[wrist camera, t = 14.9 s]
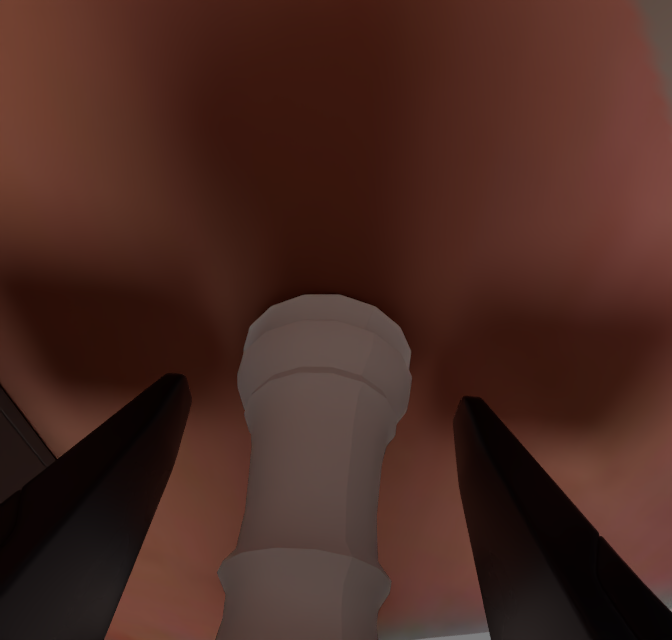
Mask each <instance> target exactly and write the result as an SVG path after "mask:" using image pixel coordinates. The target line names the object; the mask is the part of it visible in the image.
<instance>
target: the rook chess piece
mask: <svg viewBox="0 0 672 640" xmlns="http://www.w3.org/2000/svg"><path fill="white" fill-rule="evenodd" d="M243 351H244V354H243V357H242V360H241V364H240V367H239V370H238V374H237V385H238V391H239V394H240V397H241V401H242V404H243V407H244V409H245V412H244V416H245V419H246V423H247V426H248V429H249V432H250V433H251V442H252V449H251V459H250V468H249V478H248V488H247V497H246V507H245V513H244V517H243V521H242V525H241V529H240V534H239V538H238V542H237V546H236V549H235V550H234V551H233V552H232V553H231V554H230V555H229V556H228V557H227V558H226V559H224V560H223V562H222V564H221V566H220V568H219V570H218V572H217V574H218V576H219V579H220V581H221V584H222V587H223V589H224V592H225V594H226V595H225V603H224V611H223V619H222V622H221V625H220V627H219V630H218V633H217V636H216V639H215V640H378V634H377V616H378V610H379V609H380V607H381V606H382V604H383V603H384V601H385V599H386V598H387V596H388V595H389V593H390V588H391V582H392V581H391V580H390V578H389V577H388V575H387V574H386V572H385V571H384V570H383V568H382V567H381V565H380V564H379V562H378V550H377V507H378V497H379V487H380V477H381V467H382V462H383V458H384V454H385V450H386V446H387V445H388V444H389V443H390V441H391V440H392V439H393V438H394V437H395V434H396V424H397V423H398V422H399V421H400V419H401V418H402V417H403V416H404V414H405V413H406V411H407V407H408V402H409V397H410V389H411V381H412V376H411V374H410V372H409V366H410V358H411V350H410V347H409V345H408V343H407V341H406V338H405V336H404V334H403V332H402V330H401V327H400V326H399V325H397V324H396V323H395V322H394V321H392V320H391V319H390V318H389V317H388V316H386V315H385V314H384V313H383V312H382V311H380V310H379V309H378V308H377V307H375V306H373V305H370V304H367V303H364V302H361V301H358V300H355V299H352V298H349V297H346V296H343V295H340V294H307V295H301V296H298V297H296V298H293V299H290V300H287V301H284V302H282V303H279V304H276V305H273V306H271V307H270V308H269V309H268V310H267V311H265V312H264V313H263V314H262V315H261V316H260V317H259V318H258V319H257V320H256V321H255V322H254V323H253V324H252V325H251V326H250V328H249V332H248V335H247V338H246V342H245V345H244V348H243Z"/></svg>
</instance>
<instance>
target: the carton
mask: <svg viewBox="0 0 672 640" xmlns="http://www.w3.org/2000/svg"><path fill="white" fill-rule="evenodd" d="M54 461H56V460H55V458H54V457H53V456H52V454H51V453H50V452H49V450H48V449H47V448H46V446H45V445H44V444H43V442H42V441H41V440H40V439H39V437H38V436H37V435H36V433H35V432H34V431H33V429H32V428H31V427H30V425H29V424H28V423H27V421H26V420H25V419H24V417H23V416H22V415H21V413H20V412H19V411H18V409H17V408H16V407H15V406H14V404H13V403H12V402H11V400H10V399H9V398H8V396H7V395H6V394H5V392H4V391H3V390H2V388H1V387H0V504H1V503H2V502H3V501H5V500H6V499H7V498H9V497H10V496H11V495H12V494H14V493H15V492H16V491H18V490H22V487H23V486H24V485H25V484H27V483H28V482H29V481H30V480H32V479H33V478H34V477H35V476H37V475H38V474H39V473H40V472H42V471H43V470H44V469H46V468H47V467H48V466H49V465H51V464H52V463H53V462H54Z"/></svg>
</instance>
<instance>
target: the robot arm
mask: <svg viewBox="0 0 672 640" xmlns="http://www.w3.org/2000/svg"><path fill="white" fill-rule="evenodd" d="M191 402H192V396H191V392H190V389H189V385H188V382H187V378H186V376H185V375H184V374H177V373H167V374H165V375H164V376H162V377H161V378H160V379H158V380H157V381H156V382H155V383H153V384H152V385H151V386H150V387H148V388H147V389H146V390H144V391H143V392H142V393H141V394H139V395H138V396H137V397H136V398H134V399H133V400H132V401H131V402H129V403H128V404H127V405H125V406H124V407H123V408H122V409H120V410H119V411H118V412H117V413H115V414H114V415H113V416H112V417H110V418H109V419H108V420H106V421H105V422H104V423H103V424H101V425H100V426H99V427H98V428H96V429H95V430H94V431H92V432H91V433H90V434H89V435H87V436H86V437H85V438H84V439H82V440H81V441H80V442H79V443H77V444H76V445H75V446H73V447H72V448H71V449H70V450H68V451H67V452H66V453H65V454H63V455H62V456H61V457H59V458H58V459H57V460H56V461H54V462H53V463H52V464H51V465H49V466H48V467H47V468H46V469H44V470H43V471H42V472H40V473H39V474H38V475H37V476H35V477H34V478H33V479H32V480H30V481H29V482H28V483H27V484H25V485H24V486H23V487H22V490H18V491H16V492H15V493H14V494H12V495H11V496H10V497H9V498H7V499H6V500H5V501H3V502H2V503H1V504H0V640H104V638H105V636H106V633H107V631H108V628H109V626H110V623H111V621H112V618H113V616H114V613H115V611H116V608H117V606H118V603H119V601H120V599H121V596H122V594H123V591H124V589H125V586H126V584H127V581H128V579H129V576H130V574H131V571H132V569H133V566H134V564H135V561H136V559H137V556H138V554H139V551H140V549H141V546H142V544H143V541H144V539H145V536H146V534H147V531H148V529H149V527H150V524H151V522H152V519H153V517H154V514H155V512H156V509H157V507H158V504H159V502H160V499H161V497H162V494H163V492H164V489H165V487H166V484H167V482H168V479H169V477H170V474H171V472H172V469H173V466H174V464H175V460H176V457H177V454H178V450H179V447H180V443H181V439H182V436H183V432H184V429H185V425H186V421H187V418H188V414H189V411H190V407H191ZM453 430H454V441H455V451H456V462H457V472H458V482H459V489H460V494H461V499H462V504H463V509H464V514H465V518H466V523H467V528H468V533H469V537H470V542H471V547H472V552H473V556H474V561H475V566H476V571H477V575H478V580H479V585H480V590H481V594H482V599H483V604H484V609H485V613H486V618H487V623H488V628H489V632H490V637H491V640H672V612H671V611H670V610H669V609H668V608H667V607H666V606H665V605H664V604H663V603H662V601H661V600H660V599H659V598H658V597H657V596H656V595H655V594H654V593H653V592H652V591H651V590H650V589H649V588H648V587H647V586H646V585H645V584H644V583H643V582H642V581H641V579H640V578H639V577H638V576H637V575H636V574H635V573H634V572H633V571H632V569H631V568H630V567H629V566H628V565H627V564H626V563H625V562H624V561H623V560H622V558H621V557H620V556H619V555H618V554H617V553H616V552H615V550H614V549H613V548H612V547H611V546H610V545H609V544H608V542H607V541H606V540H605V539H604V538H603V537H602V536H599V533H598V531H597V530H596V529H595V528H594V527H593V525H592V524H591V523H590V522H589V521H588V520H587V519H586V517H585V516H584V515H583V514H582V513H581V512H580V511H579V509H578V508H577V507H576V506H575V505H574V504H573V502H572V501H571V500H570V499H569V498H568V497H567V496H566V494H565V493H564V492H563V491H562V490H561V489H560V488H559V486H558V485H557V484H556V483H555V482H554V481H553V480H552V478H551V477H550V476H549V475H548V474H547V473H546V471H545V470H544V469H543V468H542V467H541V466H540V465H539V463H538V462H537V461H536V460H535V459H534V458H533V457H532V455H531V454H530V453H529V452H528V451H527V450H526V449H525V447H524V446H523V445H522V444H521V443H520V442H519V440H518V439H517V438H516V437H515V436H514V435H513V434H512V432H511V431H510V430H509V429H508V428H507V427H506V426H505V424H504V423H503V422H502V421H501V420H500V419H499V418H498V416H497V415H496V414H495V413H494V412H493V411H492V409H491V408H490V407H489V406H488V405H487V404H486V403H485V401H484V400H483V399H481V398H480V397H474V396H463V397H462V398H461V400H460V403H459V405H458V408H457V410H456V413H455V415H454V419H453Z"/></svg>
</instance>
